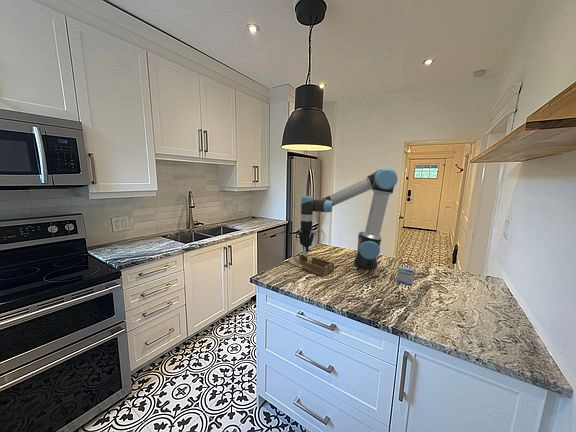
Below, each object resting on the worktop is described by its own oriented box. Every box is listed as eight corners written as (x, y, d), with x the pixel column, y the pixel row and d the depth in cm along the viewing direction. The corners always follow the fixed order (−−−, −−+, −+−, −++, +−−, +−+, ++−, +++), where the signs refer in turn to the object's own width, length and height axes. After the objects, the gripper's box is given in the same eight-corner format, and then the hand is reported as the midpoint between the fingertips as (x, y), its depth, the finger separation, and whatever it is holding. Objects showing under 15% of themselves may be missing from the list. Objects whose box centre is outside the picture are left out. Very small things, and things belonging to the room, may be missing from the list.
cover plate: (297, 257, 173) (295, 248, 171) (310, 261, 164) (308, 252, 162) (287, 262, 168) (286, 253, 166) (301, 267, 158) (299, 258, 156)
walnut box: (313, 265, 164) (313, 257, 163) (333, 271, 154) (334, 263, 153) (302, 270, 155) (302, 261, 154) (323, 277, 145) (323, 268, 144)
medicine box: (396, 282, 139) (398, 268, 138) (397, 279, 143) (398, 265, 142) (412, 285, 136) (413, 270, 134) (412, 282, 140) (413, 268, 138)
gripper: (295, 219, 157) (294, 254, 161) (311, 222, 149) (310, 259, 153) (302, 218, 163) (301, 252, 167) (318, 221, 154) (317, 256, 158)
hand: (305, 255), depth 160 cm, fingers closed
